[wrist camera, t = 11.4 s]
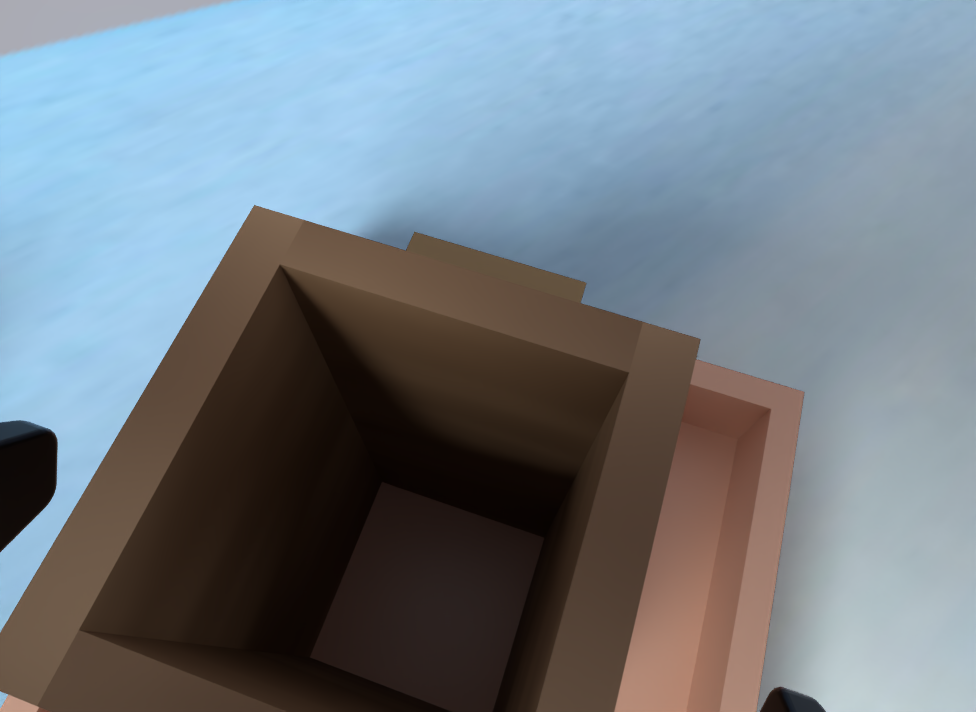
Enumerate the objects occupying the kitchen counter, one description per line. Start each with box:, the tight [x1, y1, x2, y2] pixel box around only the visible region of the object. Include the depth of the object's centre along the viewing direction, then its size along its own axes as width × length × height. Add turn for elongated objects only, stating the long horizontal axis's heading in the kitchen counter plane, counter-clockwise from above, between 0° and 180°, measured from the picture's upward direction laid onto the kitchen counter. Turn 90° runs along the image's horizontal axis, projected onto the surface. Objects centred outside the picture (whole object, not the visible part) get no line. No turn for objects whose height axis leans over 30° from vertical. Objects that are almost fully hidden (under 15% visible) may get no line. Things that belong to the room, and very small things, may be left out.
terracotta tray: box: [0, 359, 804, 712], centre depth 14 cm, size 12×12×3 cm
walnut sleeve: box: [0, 205, 700, 712], centre depth 11 cm, size 6×5×9 cm
